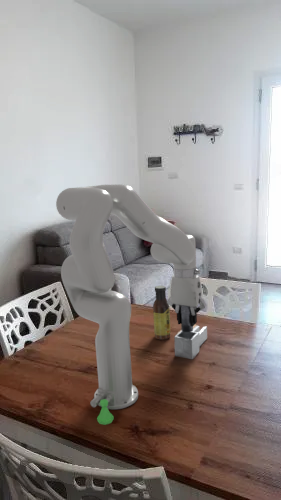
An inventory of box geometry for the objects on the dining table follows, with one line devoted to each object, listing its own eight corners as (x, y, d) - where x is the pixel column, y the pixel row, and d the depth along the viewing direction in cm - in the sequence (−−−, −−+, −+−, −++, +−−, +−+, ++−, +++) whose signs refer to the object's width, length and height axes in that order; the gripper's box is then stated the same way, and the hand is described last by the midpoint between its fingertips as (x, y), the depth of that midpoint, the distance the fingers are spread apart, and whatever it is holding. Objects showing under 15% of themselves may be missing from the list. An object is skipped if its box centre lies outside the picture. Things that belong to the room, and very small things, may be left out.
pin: (190, 332, 136) (189, 304, 133) (179, 330, 137) (178, 303, 135) (194, 328, 139) (193, 300, 137) (184, 326, 141) (183, 299, 139)
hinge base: (192, 359, 135) (191, 339, 134) (167, 354, 140) (166, 335, 139) (210, 338, 151) (210, 320, 149) (187, 334, 155) (187, 317, 154)
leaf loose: (198, 347, 143) (198, 335, 142) (195, 346, 144) (195, 335, 143) (207, 338, 151) (206, 326, 150) (204, 337, 151) (203, 326, 150)
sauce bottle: (171, 340, 151) (169, 289, 147) (154, 340, 151) (152, 290, 147) (170, 333, 157) (168, 284, 153) (154, 333, 158) (152, 284, 153)
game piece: (117, 418, 106) (115, 398, 105) (105, 427, 103) (103, 405, 102) (105, 412, 109) (104, 392, 108) (93, 420, 106) (92, 400, 104)
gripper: (212, 271, 133) (214, 323, 137) (167, 267, 141) (169, 316, 145) (204, 277, 126) (206, 331, 130) (157, 273, 135) (160, 324, 139)
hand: (186, 323), depth 138 cm, fingers closed on pin, 4 cm apart
